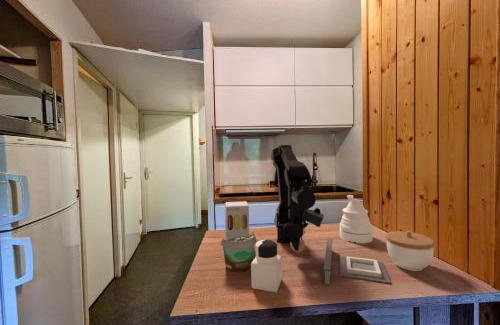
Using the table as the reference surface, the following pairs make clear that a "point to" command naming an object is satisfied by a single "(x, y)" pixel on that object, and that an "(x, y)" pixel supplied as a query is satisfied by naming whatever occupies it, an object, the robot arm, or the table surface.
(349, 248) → the table surface
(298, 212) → the robot arm
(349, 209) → the honey pot
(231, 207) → the supplement box
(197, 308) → the table surface
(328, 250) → the gray fence
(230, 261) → the food container
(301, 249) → the ball
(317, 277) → the table surface
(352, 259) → the mat
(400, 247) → the lidded bowl
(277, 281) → the medicine bottle
